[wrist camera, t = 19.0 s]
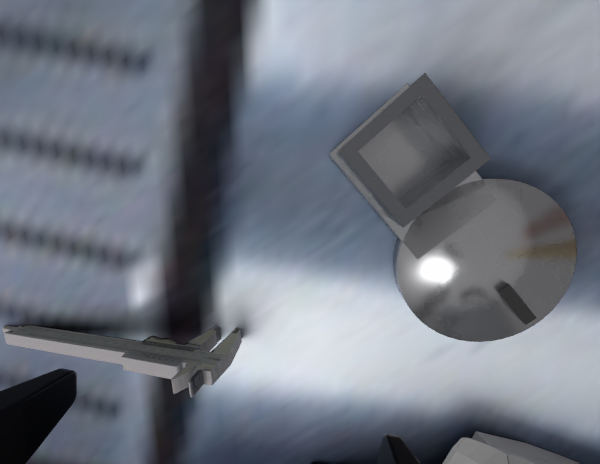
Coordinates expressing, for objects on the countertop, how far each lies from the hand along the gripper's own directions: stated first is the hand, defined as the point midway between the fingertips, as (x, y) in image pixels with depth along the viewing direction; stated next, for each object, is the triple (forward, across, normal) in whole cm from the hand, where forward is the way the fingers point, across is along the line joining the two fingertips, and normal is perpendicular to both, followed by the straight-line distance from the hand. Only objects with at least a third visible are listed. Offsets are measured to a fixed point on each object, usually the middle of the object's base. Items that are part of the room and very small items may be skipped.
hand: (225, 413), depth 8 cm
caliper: (+14, +12, +8) cm, 20 cm away
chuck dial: (+13, -10, -5) cm, 17 cm away
